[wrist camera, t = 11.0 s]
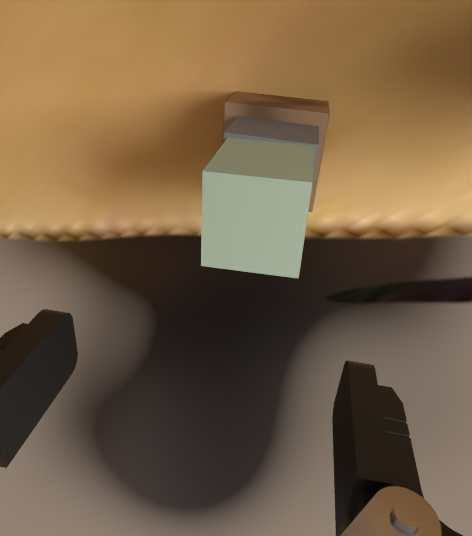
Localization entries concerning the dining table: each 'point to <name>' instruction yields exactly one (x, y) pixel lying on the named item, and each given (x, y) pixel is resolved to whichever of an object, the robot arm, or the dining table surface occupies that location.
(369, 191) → the dining table surface
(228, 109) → the plinth
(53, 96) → the dining table surface
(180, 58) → the dining table surface
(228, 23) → the dining table surface
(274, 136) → the cube
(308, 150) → the block
